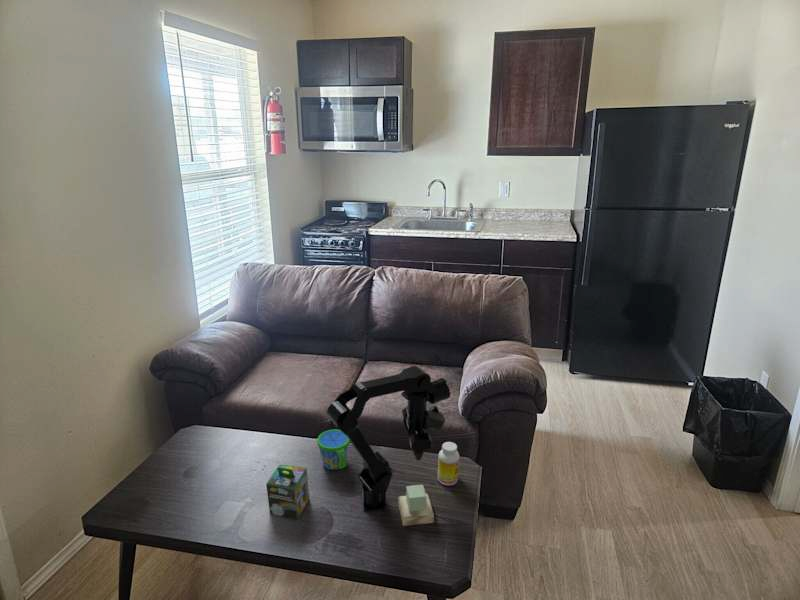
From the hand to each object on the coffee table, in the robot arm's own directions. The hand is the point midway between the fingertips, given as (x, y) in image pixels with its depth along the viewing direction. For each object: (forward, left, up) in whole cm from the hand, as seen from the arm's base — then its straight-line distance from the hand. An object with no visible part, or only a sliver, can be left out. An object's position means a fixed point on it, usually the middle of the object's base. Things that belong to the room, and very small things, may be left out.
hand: (415, 450), depth 159 cm
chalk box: (-39, -4, -13) cm, 41 cm away
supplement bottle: (+11, +1, -13) cm, 17 cm away
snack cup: (-25, +14, -13) cm, 32 cm away
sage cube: (-2, -12, -10) cm, 16 cm away
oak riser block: (-2, -12, -13) cm, 18 cm away
